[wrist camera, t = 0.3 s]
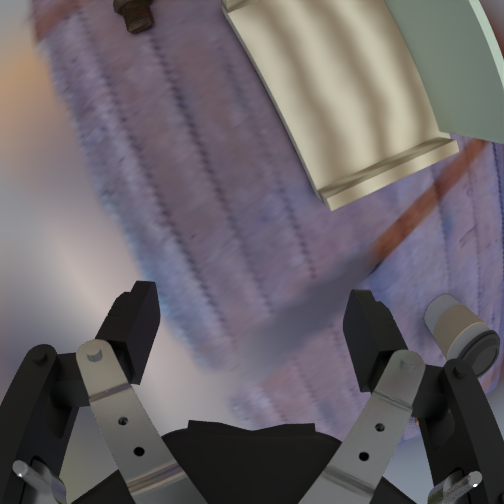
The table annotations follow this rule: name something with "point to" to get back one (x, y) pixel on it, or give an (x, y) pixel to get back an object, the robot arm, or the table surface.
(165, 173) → the table surface
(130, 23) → the bolt
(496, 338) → the coffee cup
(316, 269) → the table surface
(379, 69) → the cart bed
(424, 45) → the panel
